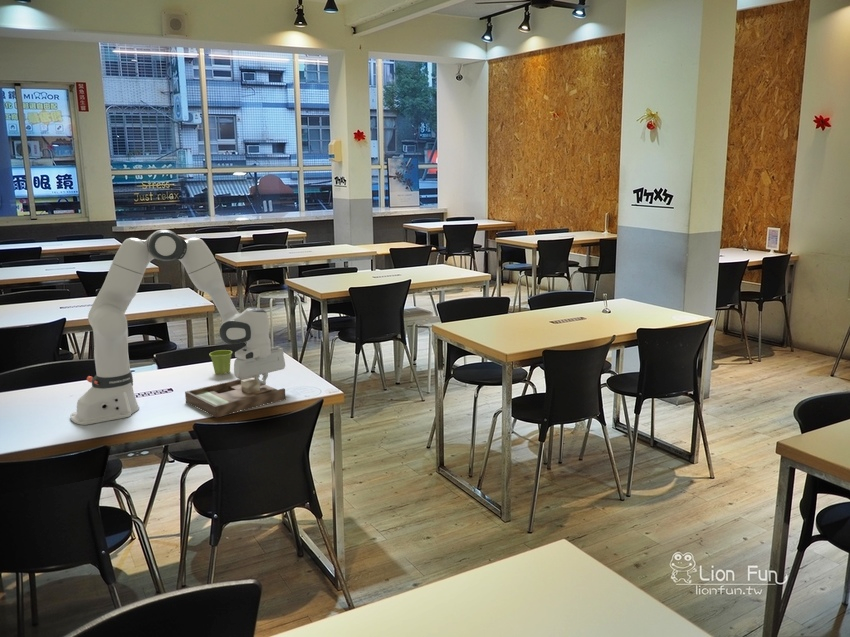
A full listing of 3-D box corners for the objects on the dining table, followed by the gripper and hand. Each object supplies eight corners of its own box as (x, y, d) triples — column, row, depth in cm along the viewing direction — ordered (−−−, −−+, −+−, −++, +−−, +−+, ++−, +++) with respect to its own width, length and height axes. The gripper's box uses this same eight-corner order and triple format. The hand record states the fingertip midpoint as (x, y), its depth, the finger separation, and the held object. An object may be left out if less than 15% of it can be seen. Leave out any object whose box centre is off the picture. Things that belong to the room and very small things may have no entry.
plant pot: (230, 375, 302) (228, 355, 300) (207, 376, 302) (206, 355, 300) (236, 369, 311) (235, 349, 309) (214, 369, 311) (213, 350, 309)
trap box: (216, 417, 252) (215, 406, 251) (186, 402, 269) (185, 391, 269) (285, 399, 270) (284, 388, 270) (253, 385, 288) (252, 375, 287)
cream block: (248, 393, 270) (247, 383, 269) (241, 390, 274) (240, 380, 273) (260, 390, 273) (259, 380, 272) (253, 387, 277) (252, 377, 276)
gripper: (278, 343, 283) (280, 377, 286) (230, 353, 269) (233, 389, 272) (287, 346, 278) (289, 381, 281) (239, 356, 265) (241, 392, 268)
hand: (261, 385), depth 276 cm, fingers closed
